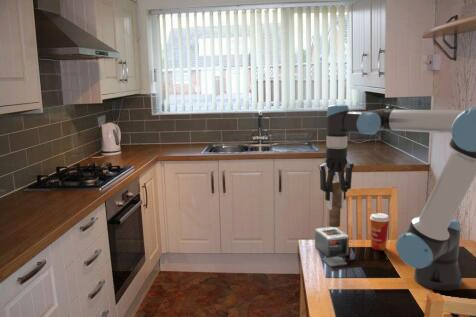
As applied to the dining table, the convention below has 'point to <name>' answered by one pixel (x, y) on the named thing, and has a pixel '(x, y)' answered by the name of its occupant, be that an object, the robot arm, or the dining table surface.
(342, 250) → the box
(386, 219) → the paper cup
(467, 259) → the dining table surface
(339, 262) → the mat
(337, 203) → the stylus
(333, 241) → the button
